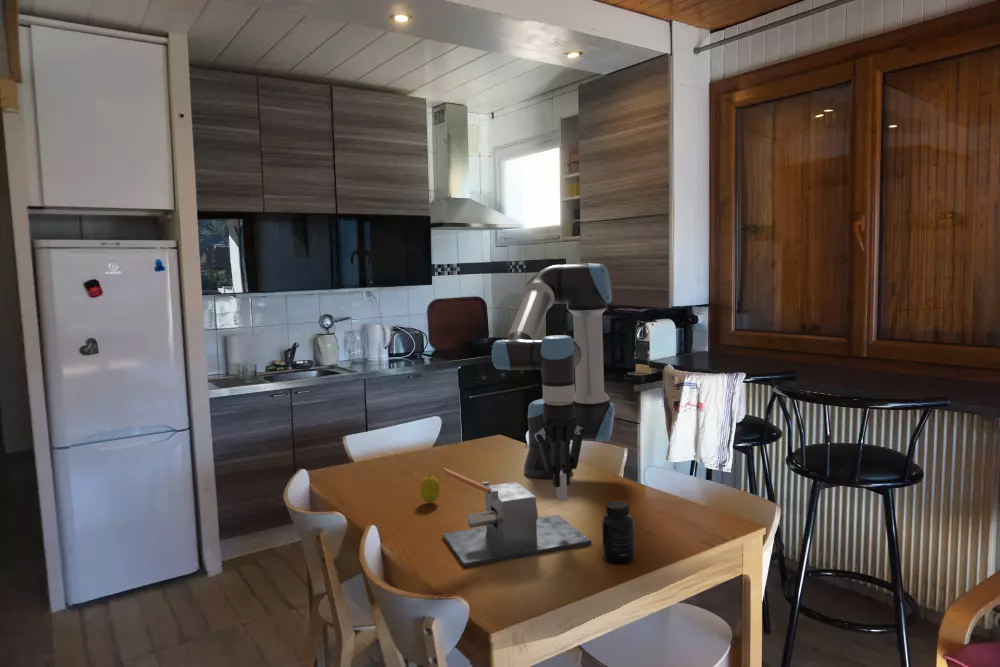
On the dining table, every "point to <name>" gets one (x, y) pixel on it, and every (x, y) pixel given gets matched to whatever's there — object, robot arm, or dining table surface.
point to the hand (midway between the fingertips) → (561, 499)
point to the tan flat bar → (466, 480)
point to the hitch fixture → (513, 530)
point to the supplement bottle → (618, 534)
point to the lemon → (429, 489)
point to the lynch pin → (485, 518)
